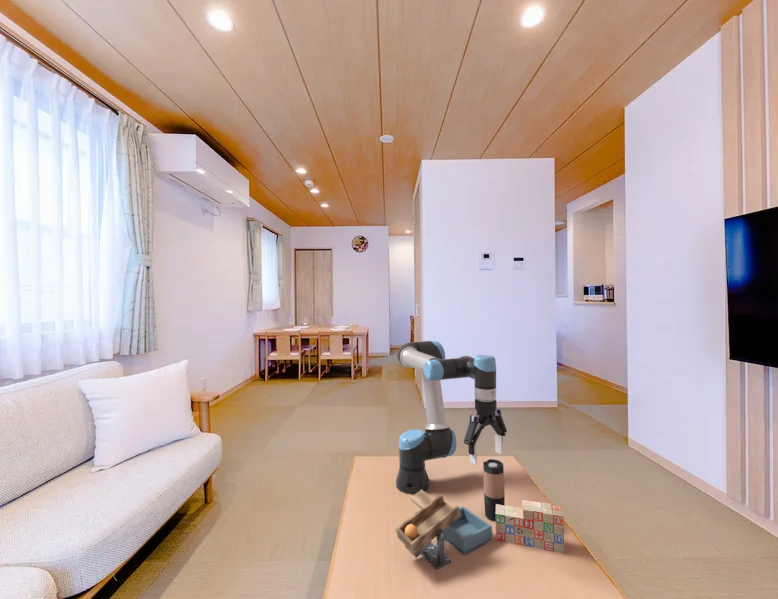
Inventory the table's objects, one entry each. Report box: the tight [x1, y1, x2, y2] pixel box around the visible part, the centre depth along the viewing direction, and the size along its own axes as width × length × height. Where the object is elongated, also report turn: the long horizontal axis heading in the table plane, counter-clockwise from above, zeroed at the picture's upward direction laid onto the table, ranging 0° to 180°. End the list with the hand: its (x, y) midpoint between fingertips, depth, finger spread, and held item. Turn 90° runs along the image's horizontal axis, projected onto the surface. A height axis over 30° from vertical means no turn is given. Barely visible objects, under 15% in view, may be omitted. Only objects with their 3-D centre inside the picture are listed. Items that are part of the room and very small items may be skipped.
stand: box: [415, 511, 453, 572], centre depth 112 cm, size 6×14×10 cm, turn 31°
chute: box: [395, 490, 461, 559], centre depth 117 cm, size 20×20×6 cm
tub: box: [443, 505, 493, 557], centre depth 120 cm, size 13×14×5 cm
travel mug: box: [482, 458, 506, 523], centre depth 131 cm, size 8×8×20 cm
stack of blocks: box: [495, 499, 565, 555], centre depth 117 cm, size 21×6×12 cm, turn 71°
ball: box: [405, 524, 417, 539], centre depth 109 cm, size 4×4×4 cm
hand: (486, 458), depth 123 cm, fingers open, 13 cm apart
